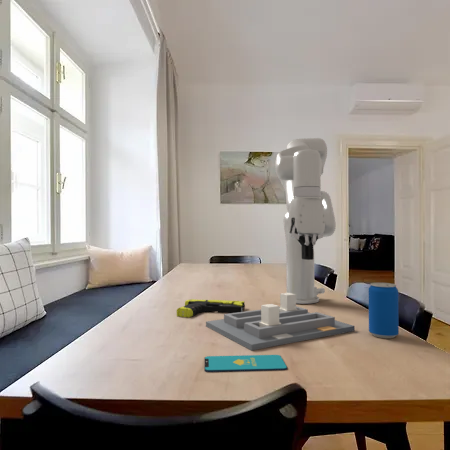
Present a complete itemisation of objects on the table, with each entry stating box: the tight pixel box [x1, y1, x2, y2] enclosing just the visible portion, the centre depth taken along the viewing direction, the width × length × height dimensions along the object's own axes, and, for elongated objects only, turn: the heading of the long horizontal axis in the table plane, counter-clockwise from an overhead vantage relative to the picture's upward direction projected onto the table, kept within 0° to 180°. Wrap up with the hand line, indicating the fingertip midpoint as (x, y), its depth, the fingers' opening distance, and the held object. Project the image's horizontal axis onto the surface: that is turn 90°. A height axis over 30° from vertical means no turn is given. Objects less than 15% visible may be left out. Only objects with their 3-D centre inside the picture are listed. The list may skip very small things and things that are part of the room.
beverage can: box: [368, 282, 400, 339], centre depth 88 cm, size 6×6×12 cm
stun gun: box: [176, 298, 246, 318], centre depth 113 cm, size 3×19×15 cm
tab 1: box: [259, 303, 281, 327], centre depth 87 cm, size 4×3×6 cm
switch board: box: [205, 305, 355, 351], centre depth 95 cm, size 30×22×3 cm
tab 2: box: [279, 292, 298, 312], centre depth 102 cm, size 4×3×6 cm
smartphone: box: [204, 354, 288, 373], centre depth 70 cm, size 7×1×15 cm
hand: (307, 259), depth 105 cm, fingers closed
